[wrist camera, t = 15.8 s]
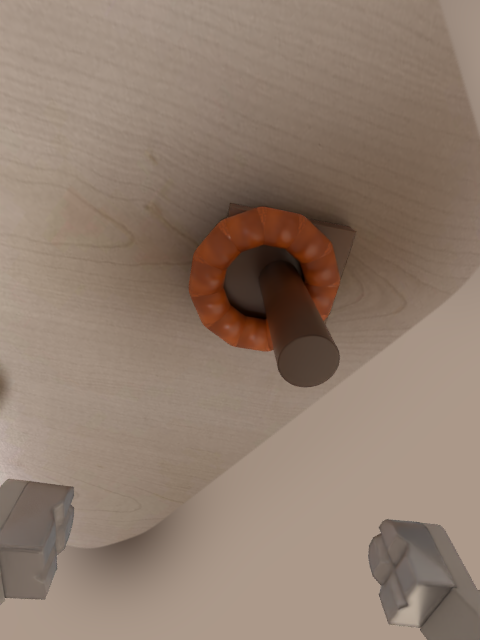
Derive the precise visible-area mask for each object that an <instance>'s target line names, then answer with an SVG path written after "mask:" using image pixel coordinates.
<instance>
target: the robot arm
mask: <svg viewBox="0 0 480 640" xmlns="http://www.w3.org/2000/svg"><path fill="white" fill-rule="evenodd" d="M73 497H74V487H71V486H63V485H55V484H47V483H39V482H31V481H24V480H15V479H8V480H6V481H5V482H4V483H3V484H2V485H1V487H0V605H1V604H2V603H3V602H4V601H5V598H21V599H45V598H46V595H47V593H48V590H49V587H50V585H51V583H52V580H53V577H54V575H55V572H56V570H57V555H58V554H59V553H61V552H62V551H63V550H64V549H65V546H66V544H67V541H68V538H69V535H70V531H71V528H72V524H73V518H74V507H73V506H72V505H71V502H72V500H73ZM379 529H380V531H381V534H379V535H377V536H375V537H373V539H372V541H371V543H370V545H369V555H368V557H369V564H370V568H371V572H372V575H373V577H374V578H375V579H376V580H377V581H378V583H379V584H380V585H381V589H380V593H379V597H380V600H381V603H382V606H383V609H384V611H385V615H386V618H387V621H388V624H390V625H399V626H409V627H418V628H421V629H420V630H421V632H422V633H423V635H424V636H425V637H426V638H427V640H480V590H477V588H476V586H475V584H474V583H473V581H472V579H471V577H470V575H469V573H468V572H467V570H466V568H465V566H464V564H463V563H462V561H461V559H460V557H459V555H458V553H457V552H456V549H455V548H454V546H453V544H452V543H451V540H450V538H449V537H448V535H447V533H446V531H445V530H444V528H442V527H441V526H440V525H437V524H427V523H420V522H412V521H400V520H388V519H387V520H384V521H383V522H382V524H381V525H380V527H379Z"/></svg>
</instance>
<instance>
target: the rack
mask: <svg viewBox="0 0 480 640" xmlns="http://www.w3.org/2000/svg"><path fill="white" fill-rule="evenodd" d="M251 209H254V208H252V207H247V206H242V205H237V204H232V203H230V206H229V212H228V217H231V216H234V215H237V214H240V213H243V212H245V211H248V210H251ZM307 219H308V218H307ZM308 220H309V221H310V222H311V223H312V224H313V225H314V226H315V227H316V228H317V229H318V230H319V231H321V232H322V233H323V234H324V235H325V236H326V237H327V238H328V239H329V240H330V242H331V243H332V245H333V249H334V253H335V258H336V262H337V266H338V271H339V275H340V279H341V276H342V273H343V270H344V267H345V265H346V262H347V259H348V256H349V253H350V250H351V247H352V244H353V241H354V238H355V235H356V231H355V230H353V229H352V228H351V227H348V226H343V225H338V224H333V223H328V222H323V221H318V220H313V219H308ZM304 281H305V280H304V276H303V272H302V269H301V265H300V262H299V261H298V260H297V259H295V258H294V257H293V256H292V255H291V254H290V253H289V252H288V251H287V250H285V249H282V248H277V247H272V246H267V245H261V246H258V247H255V248H252V249H249V250H246V251H243V252H241V253H240V254H239V255H238V257H237V258H236V259H235V260H234V261H233V262H232V263H231V264H230V265H229V267H228V268H227V271H226V276H225V281H224V286H223V288H224V290H225V293H226V295H227V298H228V301H229V303H230V305H231V306H233V307H234V308H235V309H237V310H238V311H239V312H240V313H242V314H243V315H244V316H248V317H254V318H260V319H267V321H268V326H269V330H270V335H271V339H272V344H273V348H274V353H275V357H276V362H277V366H278V370H279V372H280V374H281V376H282V377H283V378H284V379H285V380H286V381H287V382H289V383H290V384H292V385H295V386H299V387H313V386H316V385H319V384H322V383H324V382H325V381H327V380H328V379H329V378H330V377H332V376H333V374H334V373H335V371H336V370H337V368H338V365H339V360H340V355H339V351H338V348H337V346H336V344H335V342H334V341H333V339H332V337H331V335H330V333H329V331H328V329H327V327H326V325H325V324H326V321H327V318H328V317H327V318H326V319H325V320H324V321H323V319H322V317H321V315H320V313H319V311H318V309H317V308H316V306H315V304H314V302H313V300H312V298H311V296H310V294H309V292H308V290H307V288H306V286H305V284H304Z"/></svg>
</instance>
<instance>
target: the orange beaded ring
mask: <svg viewBox="0 0 480 640" xmlns="http://www.w3.org/2000/svg"><path fill="white" fill-rule="evenodd" d="M261 245H267V246H272V247H277V248H282V249H285V250H287V251H288V252H289V253H290V254H291V255H292V256H293V257H294V258H295V259H297V260H298V261H299V262H300V265H301V269H302V272H303V276H304V280H305V281H304V284H305V286H306V288H307V290H308V292H309V294H310V296H311V298H312V300H313V302H314V304H315V306H316V308H317V309H318V311H319V313H320V315H321V317H322V319H323V321H324V320H325V319H326V318H327V317H328V315H329V314H330V311H331V308H332V305H333V302H334V299H335V296H336V293H337V290H338V287H339V284H340V275H339V271H338V266H337V262H336V258H335V253H334V249H333V245H332V243H331V242H330V240H329V239H328V238H327V237H326V236H325V235H324V234H323V233H322V232H321V231H319V230H318V229H317V228H316V227H315V226H314V225H313V224H312V223H311V222H310V221H309V220H308V219H307V218H306V217H305V216H303V215H301V214H298V213H293V212H288V211H283V210H278V209H274V208H269V207H257V208H254V209H251V210H248V211H245V212H243V213H240V214H237V215H234V216H231V217H228V218H225V219H223V220H221V221H220V222H219V223H218V224H217V225H216V226H215V227H214V229H213V230H212V231H211V232H210V233H209V235H208V236H207V237H206V238H205V239H204V240H203V242H202V243H201V244H200V245H199V246H198V248H197V249H196V250H195V252H194V255H193V261H192V268H191V274H190V281H189V294H190V296H191V299H192V301H193V303H194V306H195V308H196V310H197V313H198V315H199V317H200V320H201V322H202V323H203V325H204V326H205V327H206V328H208V329H209V330H210V331H212V332H213V333H214V334H216V335H217V336H219V337H220V338H221V339H223V340H224V341H225V342H227V343H228V344H230V345H231V346H234V347H240V348H246V349H253V350H259V351H271V350H274V348H273V344H272V339H271V335H270V330H269V326H268V321H267V319H260V318H254V317H248V316H244V315H243V314H242V313H240V312H239V311H238V310H237V309H235V308H234V307H233V306H231V305H230V303H229V301H228V298H227V295H226V293H225V290H224V288H223V286H224V281H225V276H226V271H227V268H228V267H229V265H230V264H231V263H232V262H233V261H234V260H235V259H236V258H237V257H238V255H239V254H240V253H241V252H243V251H246V250H249V249H252V248H255V247H258V246H261Z"/></svg>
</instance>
